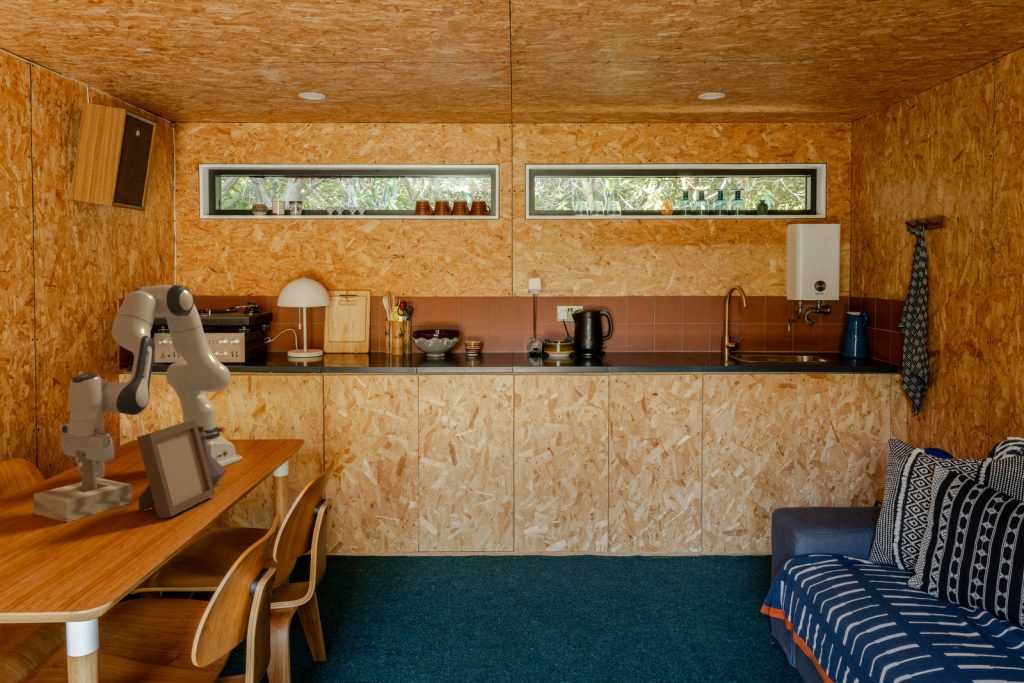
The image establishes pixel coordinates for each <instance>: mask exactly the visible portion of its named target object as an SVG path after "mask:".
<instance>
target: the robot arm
mask: <svg viewBox="0 0 1024 683" xmlns="http://www.w3.org/2000/svg"><path fill="white" fill-rule="evenodd" d="M194 298H195V297H194V295H193V292H191V290H190V289H189V288H188V287H186V286H184V285H179V284H174V285H173V284H159V285H151V286H140V287H137V288H135V289H134V290H132V291H131V292H129V293H128V294H127V295H126V297H125V298H124V300H123V301H122V303H121V305H120V307H119V309H118V310H117V313H116V316H115V318H114V321H113V324H112V328H111V335H112V338H113V339H114V341H115V342H116V343H117V344H118V345H119V346H120V347H122V348H124V349H126V350H128V351H129V352H131V353H132V354H133V362H132V364H133V365H132V369H131V374H130V378H129V380H128V381H126V382H123V381H121V382H118V381H109V380H106V379H103V378H102V377H100V375H99V374H98V373H83V374H79V375H76V376H74V377H72V378H71V380H70V383H69V388H68V406H69V409H70V417H69V422H68V423H65V424H62V425H61V426H60V428H59V429H60V430H59V431H60V433H62V434H61V447H62V448H61V449H62V453H63V455H64V456H66V457H73V458H74V459H75V463H76V464H77V468H78V472H80V473H81V472H82V459H81V458H80V457H78V456H76V451H81V452H86V458H85V459H88V460H93V464H94V466H93V468H92V469H91V474H94V475H96V474H99V473H100V467H101V464H102V462H105V463H107V462H110V461H113V460H114V458H115V449H114V443H113V439H112V436H111V435H110V434H109V433H108V431H107V430H105V421H104V413H110V414H123V415H129V416H137V415H139V414H141V413H142V412H143V411H144V410H145V409H146V408H147V406H148V405H149V403H150V383H151V377H152V370H153V364H154V360H155V359H154V358H155V348H156V347H155V341H154V340H153V339H152V337H151V331H152V328H153V325H154V321H155V318H166V321H167V322H166V323H167V326H168V327H167V328H168V332H169V335H170V339H171V342H172V347H173V350H174V352H175V353H176V354H177V355H179V356H180V357H182V358H183V360H181V361H177V362H174V363H171V364H170V365H169V366H168V368H167V370H166V374H165V379H166V382H167V383H168V385H169V387H171V388H172V389H173V390H174V392H175V393H176V396H177V397H178V400H179V402H180V405H181V409H182V423H184V422H189V421H193V420H196V422H197V426H203V427H204V429H203V432H205V433H206V434H208V436H207V438H206V444H207V447H208V450H209V453H210V455H211V456H212V457H213V458H214V459H215V460H216V461H217V462H218V463H219V464H220V465H221V466H222V467H225V466H227V465H231V464H234V463H237V462H238V461H241V459H242V460H243V456H242V455H240V454H236V448H235V445H234V444H233V443H232V442H231V441H229V440H228V439H226V438H224V437H223V436H222V435H221V433H225V431H226V427H225V426H219V427H218V426H217V424H216V422H217V421H216V419H217V418H216V407H215V405H214V403H213V402H211V401H210V399H209V398H208V396H207V394H206V393H214V392H221V391H224V390H225V389H227V387H228V386H229V384H230V382H231V373H230V370H229V369H228V367H227V366H225V365H224V364H223V363H222V362H220V361H219V360H218V358H217V357H216V356H215V354H214V353H213V352H212V349H211V348H210V346H209V344H208V341H207V338H206V334H205V332H204V331H205V330H204V328H203V324H202V320H201V316H200V315H199V314H200V313H199V312H198V309H197V307H196V305H195V299H194ZM233 462H234V463H233Z"/></svg>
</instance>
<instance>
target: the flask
mask: <svg viewBox="0 0 1024 683" xmlns="http://www.w3.org/2000/svg"><path fill="white" fill-rule="evenodd" d="M203 429H204V427H203V426H198V430H199V434H200V438H201V441H202V445H203V449H204V453H205V457H206V461H207V465H208V468H209V472H210V476H211V480H212V484H213V487H214V486H216V485H217V484H218V483H219V482H220V480H221V479H222V477H223V476H224V475H225V474H226V472H227V471H228V470H227V469H226V468H225V466H223V467H222V466H221V465H220V464H219V463H218V462H217V461H216V460H215V459H214V458H213V457H212V456H211V455H210V453H209V450H208V447H207V444H206V438H207V436H208V434H206V433H205V432H203ZM216 483H217V484H216Z"/></svg>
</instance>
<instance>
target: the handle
mask: <svg viewBox="0 0 1024 683" xmlns="http://www.w3.org/2000/svg"><path fill="white" fill-rule="evenodd" d="M76 456H78V457H80V458H81V459H82V476H81V482H82V490H83V492H88V491H92V490H96V489H97V480H96V479H97V477H96V475H94V474H91V469H92V468H93V466H94V464H93V460H88V459H85V458H86V452H81V451H76Z"/></svg>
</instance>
